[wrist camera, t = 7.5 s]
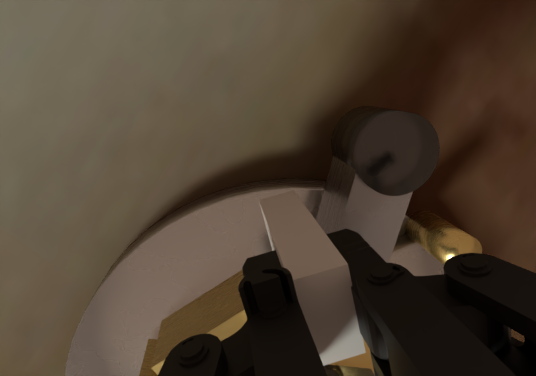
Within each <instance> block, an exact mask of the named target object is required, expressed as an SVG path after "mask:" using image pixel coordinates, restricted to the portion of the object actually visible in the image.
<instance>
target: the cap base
mask: <svg viewBox="0 0 536 376" xmlns="http://www.w3.org/2000/svg"><path fill="white" fill-rule="evenodd" d="M325 184H326V182H325V181H319V180H313V179H275V180H265V181H255V182H251V183H247V184H242V185H238V186H233V187H229V188H226V189H223V190H220V191H217V192H214V193H212V194H209V195H206V196H203V197H201V198H198V199H196V200H195V201H193V202H191V203H189V204H187V205H185V206H183V207H181V208H179V209H177V210H175V211H173V212H172V213H170V214H169V215H167V216H166V217H164V218H163V219H162V220H160V221H159V222H157V223H156V224H154V225H153V226H151V227H150V228H149V229H148V230H146V231H145V232H144V233H143V234H142V235H141V236H140V237H139V238H138V239H136V240H135V241H134V242H133V243H132V244H131V245H130V246H129V247H128V248H127V249H126V250H125V251H124V253H123V254H122V255H121V256H120V257H119V259H118V260H117V261H116V262H115V263H114V265H113V266H112V267H111V268H110V270H109V271H108V273H107V275H106V276H105V278H104V279H103V281H102V283H101V284H100V286H99V287H98V289H97V291H96V292H95V294H94V296H93V298H92V300H91V301H90V303H89V305H88V307H87V308H86V310H85V312H84V314H83V316H82V318H81V321H80V323H79V325H78V328H77V330H76V332H75V335H74V337H73V339H72V343H71V347H70V351H69V355H68V359H67V363H66V372H65V376H139V374H140V370H141V366H142V362H143V358H144V354H145V350H146V347H147V343H148V339H158V334H159V330H160V325H161V321H162V320H163V319H165V318H166V317H168V316H170V315H171V314H173V313H174V312H176V311H177V310H179V309H181V308H182V307H184V306H185V305H187V304H189V303H190V302H192V301H193V300H195V299H196V298H198V297H200V296H201V295H203V294H204V293H206V292H208V291H209V290H211V289H212V288H214V287H215V286H217V285H219V284H220V283H222V282H223V281H225V280H227V279H228V278H230V277H231V276H233V275H234V274H236V273H238V272H239V271H241V270H242V267H243V265H244V263H245V261H246V259H247V258H250V257H253V256H257V255H260V254H264V253H267V252H270V251H272V248H271V244H270V240H269V236H268V233H267V229H266V225H265V221H264V218H263V214H262V210H261V207H260V203H259V200H260V199H264V198H267V197H271V196H274V195H278V194H282V193H285V192H289V191H292V190H294V191H295V193H296V194H297V195H298V197H299V198H300V199H301V201H302V202H303V204H304V205H305V206H306V208H307V209H308V210H309V212H310V213H311V214H312V216H313V217H314V219H315V220H316V217H317V213H318V209H319V206H320V202H321V199H322V195H323V191H324V188H325ZM464 253H479V254H482V246H481V244H480V242H479V241H478V240H477V239H476V238H474V237H472V236H471V235H469V234H467V233H466V232H464V231H462V230H461V229H459V228H457V227H456V226H454V225H452V224H451V223H449V222H447V221H446V220H444V219H442V218H441V217H439V216H437V215H436V214H434V213H432V212H431V211H428V210H420V211H417V212H415V213H414V214H413V215H412V216H411V217H408V216H407V215H405V217H404V219H403V222H402V225H401V228H400V231H399V234H398V237H397V240H396V243H395V246H394V249H393V252H392V255H391V258H390V261H389V263H395V264H399V265H401V266H403V267H405V268H406V269H408V270H409V271H410V272H411V273H412V274H413V275H414V276H430V275H441V274H444V268H443V267H444V264H445V262H446V261H447V260H448V259H450V258H451V257H453V256H457V255H460V254H464ZM324 369H325V371H326V374H327V376H375V374H374V373H373V371H372V370H371V369H368V368H359V367H349V366H339V365H329V364H328V365H324Z"/></svg>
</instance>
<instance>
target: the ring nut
mask: <svg viewBox="0 0 536 376" xmlns="http://www.w3.org/2000/svg"><path fill="white" fill-rule="evenodd" d="M331 148H332V153H333V159H332V163H331V166H330V170H329V173H328V177H327V181H326V184H325V188H324V191H323V195H322V199H321V202H320V206H319V209H318V213H317V217H316V221H317V223H318V224H319V225H320V227H321V228H322V229H323V231H324V232H325V233H326V234H329V233H332V232H336V231H339V230H343V229H346V228H347V229H350V230H352V231H355V232H358V233H359V234H360V235H361V236H362V237H363V238H364V240H365V241H366V242H367V243H368V244H369V245H370V246H371V247H372V248H373V249H374V250H375V251H376V252H377V253H378V254H379V255H380V256H381V257H382V258H383V259H384V261H385V262H386V263H389V261H390V258H391V255H392V252H393V249H394V246H395V243H396V240H397V237H398V234H399V231H400V228H401V225H402V222H403V219H404V217H405V214H406V211H407V208H408V205H409V202H410V199H411V196H412V193H413V191H415V190H416V189H418V188H419V187H421V186H422V185H423V184H424V183H425V182H426V181H427V180H428V179H429V178H430V176H431V175H432V173H433V171H434V170H435V167H436V165H437V162H438V158H439V149H440V147H439V140H438V136H437V133H436V131H435V129H434V128H433V126H432V125H431V124H430V123H429V122H428V121H427V120H426V119H425V118H423V117H422V116H420V115H418V114H415V113H410V112H404V111H398V110H391V109H385V108H379V107H372V106H363V107H358V108H355V109H353V110H351V111H349V112H348V113H346V114H345V115H344V116H343V117H342V118H341V119H340V120H339V122H338V123H337V125H336V127H335V129H334V131H333V134H332V139H331ZM243 278H244V276H243V269H242V270H241V271H239V272H238V273H236V274H234V275H233V276H231V277H230V278H228V279H227V280H225V281H223V282H222V283H220V284H219V285H217V286H215V287H214V288H212V289H211V290H209V291H208V292H206V293H204V294H203V295H201V296H200V297H198V298H196V299H195V300H193V301H192V302H190V303H189V304H187V305H185V306H184V307H182V308H181V309H179V310H177V311H176V312H174V313H173V314H171V315H170V316H168V317H166V318H165V319H163V320H162V321H161V325H160V330H159V334H158V339H148V343H147V347H146V350H145V354H144V358H143V362H142V366H141V370H140V374H139V376H158V374H159V372H160V370H161V368H162V365H163V363H164V361H165V359H166V357H167V356H168V354H169V353H170V351H171V350H172V349H173V348H174V347H175V346H176V345H177V344H179V343H180V342H181V341H183V340H185V339H187V338H189V337H191V336H194V335H198V334H212V335H215V336H217V337H218V338H219V340H220V341H222V340H224V339H226V338H228V337H230V336H231V335H233V334H234V333H236V332H237V331H238V330H239V329H240V328H241V327H242V326H243V325H244V324H245V322H246V321H247V316H246V313H245V310H244V306H243V303H242V300H241V297H240V293H239V290H238V287H239V283H240V282H241V280H242V279H243ZM363 341H364V346H365V351H366V353H363V354H360V355H357V356H353V357H350V358H347V359H344V360H341V361H337V362H334V363H331V364H329V365H339V366H349V367H359V368H368V369H371V370H372V371H373V373H374V369H373V364H372V359H371V354H370V349H369V347H368V345H367V344H366V342H365V340H364V338H363Z"/></svg>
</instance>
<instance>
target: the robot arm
mask: <svg viewBox="0 0 536 376" xmlns="http://www.w3.org/2000/svg"><path fill="white" fill-rule="evenodd" d="M259 203H260V207H261V210H262V214H263V218H264V221H265V225H266V229H267V233H268V236H269V240H270V244H271V248H272V251H270V252H267V253H264V254H260V255H257V256H253V257H250V258H247V259H246V261H245V263H244V265H243V267H242V269H243V276H244V278H243V279H242V280H241V282H240V283H239V287H238V290H239V293H240V297H241V300H242V303H243V306H244V310H245V313H246V316H247V321H246V322H245V324H244V325H243V326H242V327H241V328H240V329H239V330H238V331H237V332H236V333H234V334H233V335H231V336H230V337H228V338H226V339H224V340H222V341H220V340H219V338H218V337H217V336H215V335H212V334H198V335H194V336H191V337H189V338H187V339H185V340H183V341H181V342H180V343H179V344H177V345H176V346H175V347H174V348H173V349H172V350H171V351H170V353H169V354H168V356H167V357H166V359H165V361H164V363H163V365H162V368H161V370H160V372H159V374H158V376H327V374H326V371H325V369H324V365H328V364H331V363H334V362H337V361H341V360H344V359H347V358H350V357H353V356H357V355H360V354H363V353H366V351H365V346H364V341H363V338H364V340H365V342H366V344H367V345H368V347H369V349H370V354H371V359H372V364H373V369H374V374H375V376H536V273H534V272H531V271H529V270H526V269H524V268H521V267H519V266H516V265H514V264H511V263H509V262H506V261H504V260H501V259H499V258H496V257H493V256H490V255H486V254H479V253H464V254H460V255H457V256H453V257H451V258H450V259H448V260H447V261H446V262H445V264H444V267H443V268H444V274H441V275H430V276H414V275H413V274H412V273H411V272H410V271H409V270H408V269H406V268H405V267H403V266H401V265H399V264H395V263H386V262H385V261H384V259H383V258H382V257H381V256H380V255H379V254H378V253H377V252H376V251H375V250H374V249H373V248H372V247H371V246H370V245H369V244H368V243H367V242H366V241H365V240H364V238H363V237H362V236H361V235H360V234H359V233H358V232H355V231H352V230H350V229H347V228H346V229H343V230H339V231H336V232H332V233H329V234H326V233H325V232H324V231H323V229H322V228H321V227H320V225H319V224H318V223H317V221H316V220H315V219H314V217H313V216H312V214H311V213H310V212H309V210H308V209H307V208H306V206H305V205H304V204H303V202H302V201H301V199H300V198H299V197H298V195H297V194H296V193H295V191H294V190H292V191H289V192H285V193H282V194H278V195H274V196H271V197H267V198H264V199H260V200H259ZM511 329H513V330H514V331H516V332H518V333H520V334H522V335H523V336H525V342H521V341H518V340H517V339H515V338H513V337H511Z"/></svg>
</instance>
